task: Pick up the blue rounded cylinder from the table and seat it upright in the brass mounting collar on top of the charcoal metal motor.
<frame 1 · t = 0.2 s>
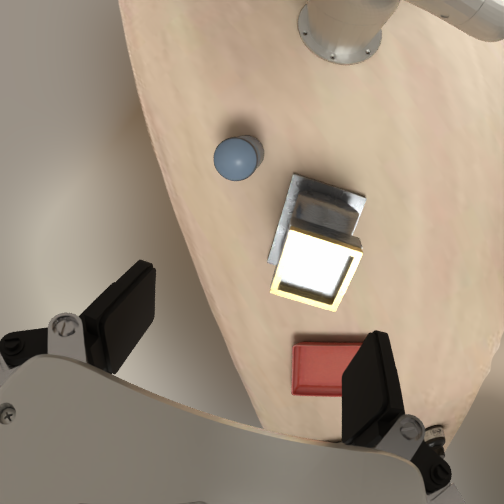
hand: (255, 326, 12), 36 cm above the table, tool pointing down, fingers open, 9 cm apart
blue rounded cylinder: (245, 153, 44), on the table
ink bottle: (430, 430, 68), on the table
plant saucer: (332, 363, 60), on the table
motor: (315, 229, 47), on the table
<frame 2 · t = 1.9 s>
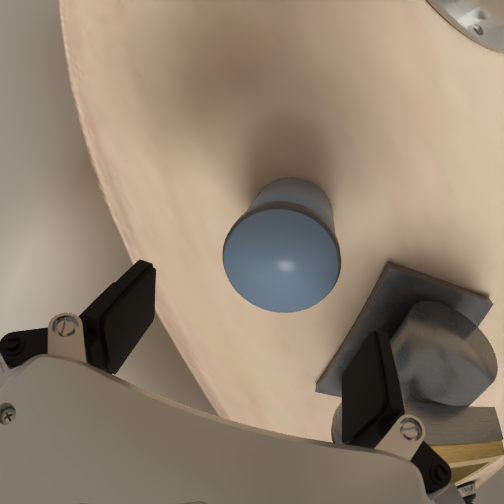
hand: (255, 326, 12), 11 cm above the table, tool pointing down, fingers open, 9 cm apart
blue rounded cylinder: (292, 217, 20), on the table
ink bottle: (461, 485, 45), on the table
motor: (401, 348, 24), on the table
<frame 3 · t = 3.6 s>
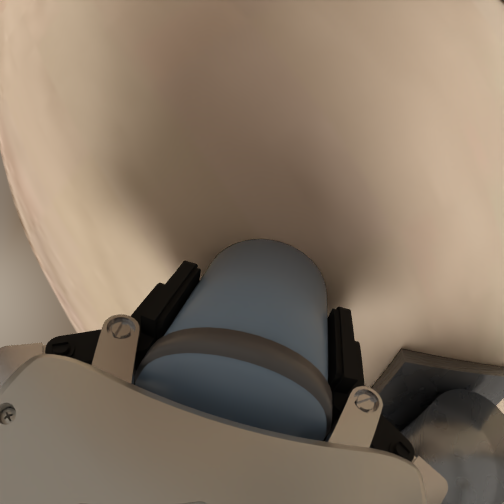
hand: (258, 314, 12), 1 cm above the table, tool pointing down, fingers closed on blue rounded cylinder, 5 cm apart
blue rounded cylinder: (264, 296, 13), on the table, touching gripper
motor: (406, 429, 17), on the table
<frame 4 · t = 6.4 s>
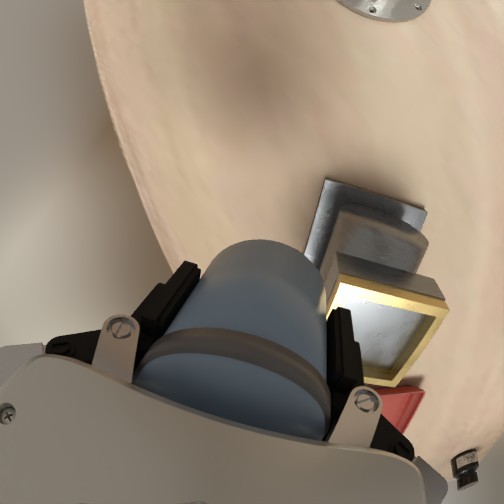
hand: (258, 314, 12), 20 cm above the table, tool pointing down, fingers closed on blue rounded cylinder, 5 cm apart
blue rounded cylinder: (263, 296, 13), point 19 cm above the table, touching gripper
ink bottle: (463, 455, 51), on the table
plant saucer: (366, 408, 45), on the table
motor: (355, 257, 32), on the table
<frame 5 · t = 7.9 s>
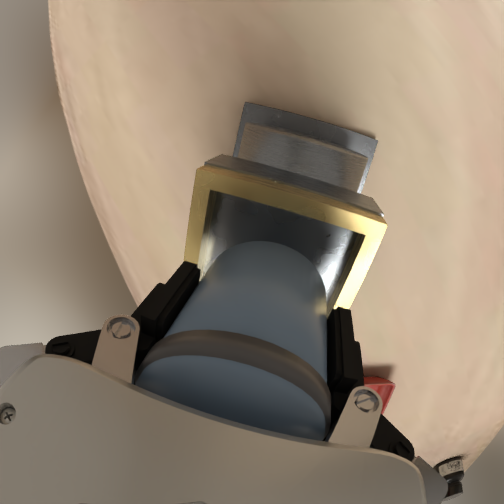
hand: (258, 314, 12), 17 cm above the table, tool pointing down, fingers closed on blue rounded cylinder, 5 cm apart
blue rounded cylinder: (263, 297, 13), point 16 cm above the table, touching gripper
ink bottle: (447, 462, 48), on the table
plant saucer: (326, 401, 40), on the table
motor: (290, 199, 27), on the table
when the fingers open (15 cm above the table, at t = 9.1 s): blue rounded cylinder stays where it is, resting on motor.
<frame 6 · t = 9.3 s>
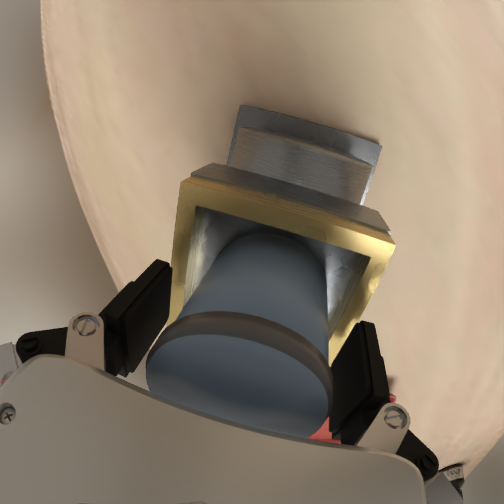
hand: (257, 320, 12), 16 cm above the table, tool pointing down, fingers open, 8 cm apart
blue rounded cylinder: (267, 288, 14), point 13 cm above the table, touching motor
ink bottle: (447, 469, 46), on the table
plant saucer: (325, 413, 39), on the table
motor: (288, 208, 26), on the table
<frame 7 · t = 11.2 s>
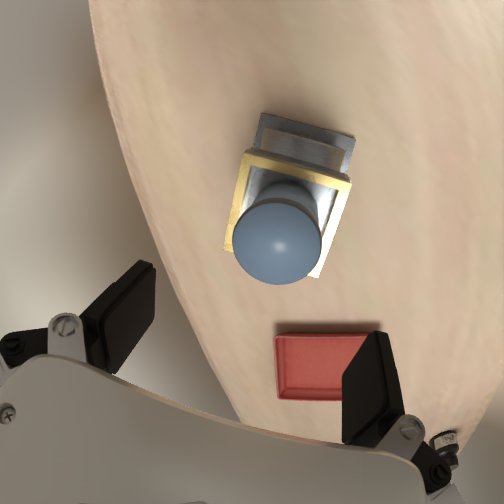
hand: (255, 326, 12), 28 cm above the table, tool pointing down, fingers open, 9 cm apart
blue rounded cylinder: (285, 214, 25), point 13 cm above the table, touching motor
ink bottle: (442, 437, 57), on the table
plant saucer: (325, 360, 50), on the table
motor: (293, 183, 37), on the table
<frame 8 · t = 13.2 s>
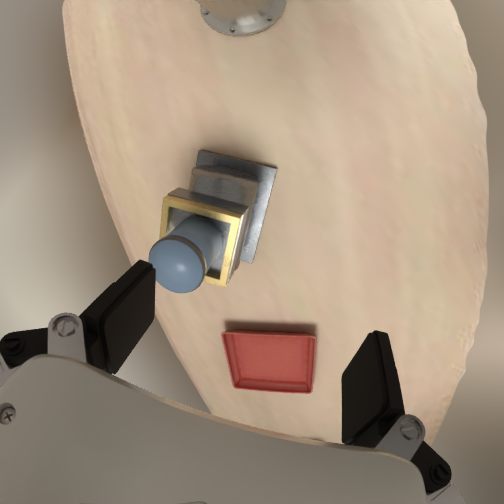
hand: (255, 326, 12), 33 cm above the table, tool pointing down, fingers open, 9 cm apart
blue rounded cylinder: (198, 239, 34), point 13 cm above the table, touching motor
plant saucer: (272, 355, 58), on the table
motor: (227, 206, 45), on the table
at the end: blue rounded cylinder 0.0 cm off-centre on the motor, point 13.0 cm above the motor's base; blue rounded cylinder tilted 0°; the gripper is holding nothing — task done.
